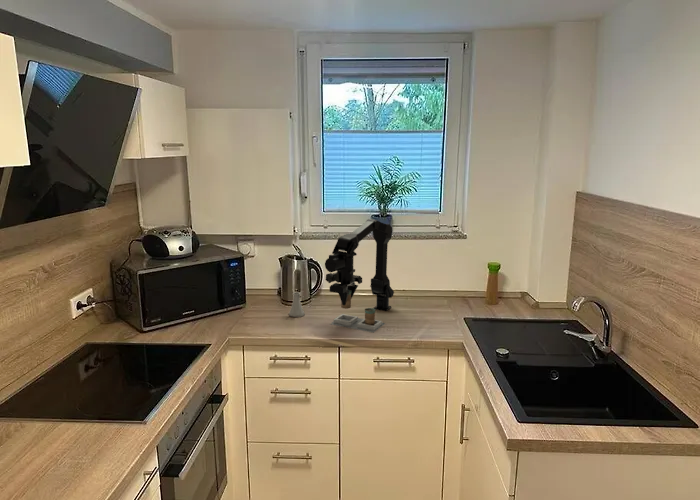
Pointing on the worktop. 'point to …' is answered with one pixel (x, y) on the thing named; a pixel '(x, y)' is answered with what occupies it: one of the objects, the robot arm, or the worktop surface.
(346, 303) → the sleeve
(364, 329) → the socket board
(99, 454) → the worktop surface
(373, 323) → the seated sleeve
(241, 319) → the worktop surface
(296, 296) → the flask
